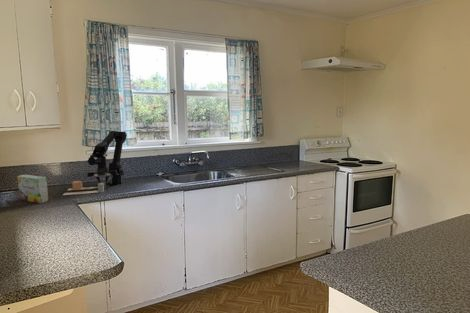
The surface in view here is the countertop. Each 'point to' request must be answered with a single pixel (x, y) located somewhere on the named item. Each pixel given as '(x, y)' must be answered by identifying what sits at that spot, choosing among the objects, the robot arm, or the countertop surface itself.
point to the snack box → (33, 188)
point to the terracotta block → (77, 185)
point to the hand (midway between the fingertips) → (103, 185)
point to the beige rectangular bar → (93, 187)
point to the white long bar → (100, 189)
